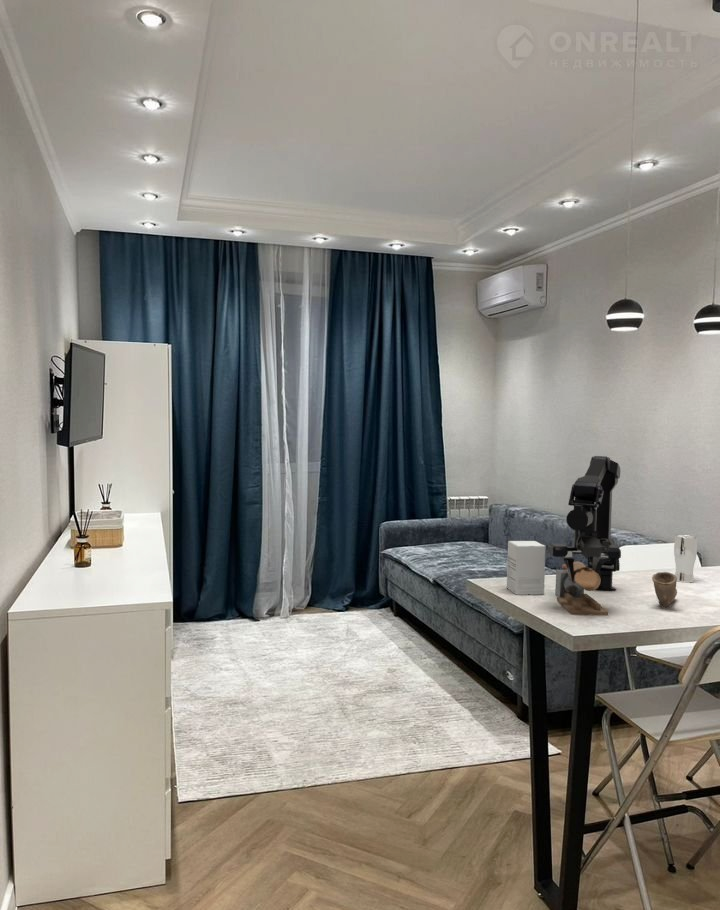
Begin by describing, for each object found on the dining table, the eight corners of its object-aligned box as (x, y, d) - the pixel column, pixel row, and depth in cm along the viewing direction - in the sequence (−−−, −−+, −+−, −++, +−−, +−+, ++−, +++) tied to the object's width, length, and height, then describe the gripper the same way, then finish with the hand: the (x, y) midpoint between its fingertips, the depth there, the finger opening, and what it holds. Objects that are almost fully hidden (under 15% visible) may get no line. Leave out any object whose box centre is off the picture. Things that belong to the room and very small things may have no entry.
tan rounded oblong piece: (566, 580, 201) (567, 561, 200) (585, 580, 201) (586, 561, 200) (579, 590, 189) (580, 570, 188) (600, 591, 189) (601, 570, 188)
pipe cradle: (557, 600, 202) (557, 592, 202) (591, 601, 202) (591, 593, 202) (571, 614, 188) (571, 604, 188) (608, 615, 188) (608, 605, 188)
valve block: (555, 594, 209) (556, 563, 209) (578, 595, 209) (579, 564, 209) (561, 600, 202) (563, 568, 202) (585, 601, 202) (587, 569, 202)
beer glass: (670, 577, 237) (673, 534, 236) (693, 579, 235) (695, 535, 235) (674, 582, 231) (676, 537, 230) (697, 583, 229) (699, 538, 228)
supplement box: (533, 587, 218) (535, 540, 217) (544, 595, 209) (546, 545, 208) (505, 587, 216) (507, 540, 216) (515, 595, 208) (517, 545, 207)
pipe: (684, 600, 206) (686, 567, 206) (673, 612, 193) (675, 577, 192) (661, 597, 210) (662, 564, 209) (648, 608, 196) (650, 573, 196)
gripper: (559, 529, 186) (557, 587, 187) (629, 531, 186) (627, 589, 187) (548, 523, 197) (546, 577, 198) (614, 525, 197) (612, 579, 198)
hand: (582, 581), depth 195 cm, fingers closed on tan rounded oblong piece, 6 cm apart
